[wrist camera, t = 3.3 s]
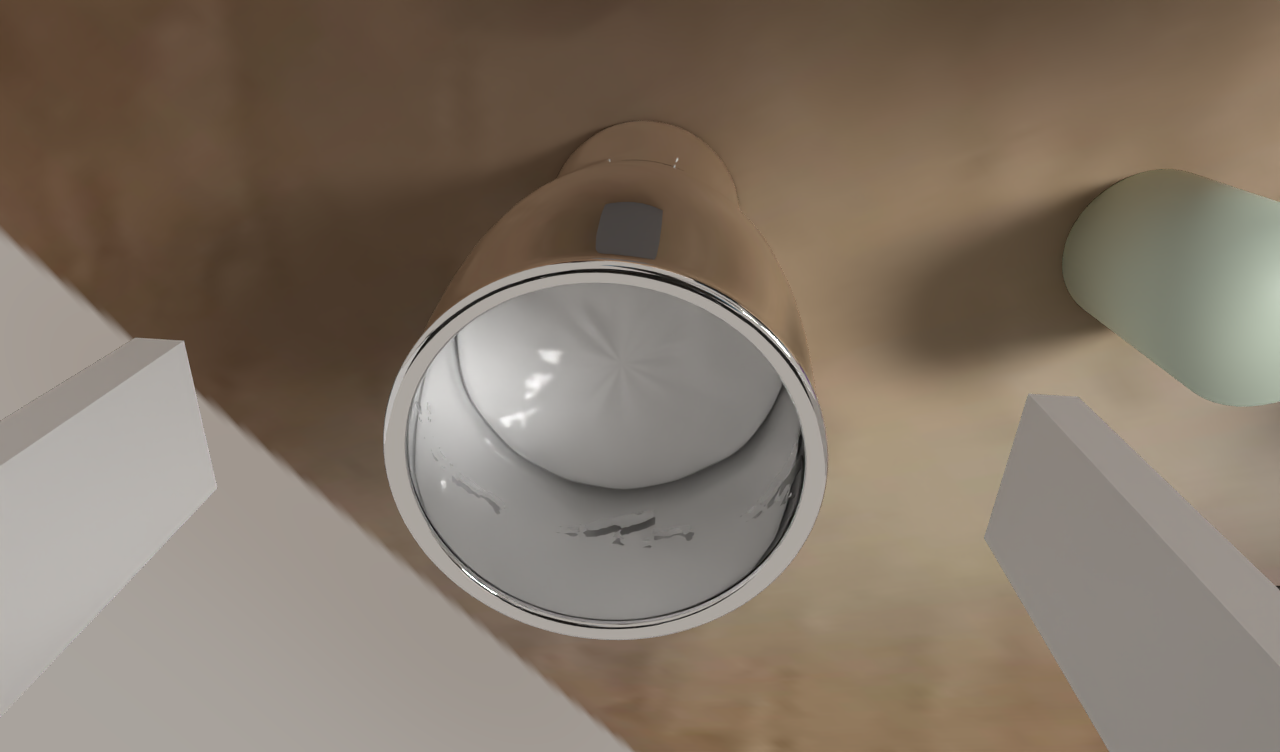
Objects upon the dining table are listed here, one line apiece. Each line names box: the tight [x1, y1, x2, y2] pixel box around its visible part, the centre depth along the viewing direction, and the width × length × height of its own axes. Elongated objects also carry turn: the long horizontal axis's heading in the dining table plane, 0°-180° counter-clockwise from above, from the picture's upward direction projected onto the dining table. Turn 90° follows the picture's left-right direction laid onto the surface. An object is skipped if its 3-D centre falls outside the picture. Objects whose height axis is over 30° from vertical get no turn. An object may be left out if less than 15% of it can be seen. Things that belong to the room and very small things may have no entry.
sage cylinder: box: [1062, 169, 1280, 406], centre depth 22 cm, size 5×5×6 cm
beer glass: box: [383, 121, 829, 640], centre depth 18 cm, size 7×7×15 cm
